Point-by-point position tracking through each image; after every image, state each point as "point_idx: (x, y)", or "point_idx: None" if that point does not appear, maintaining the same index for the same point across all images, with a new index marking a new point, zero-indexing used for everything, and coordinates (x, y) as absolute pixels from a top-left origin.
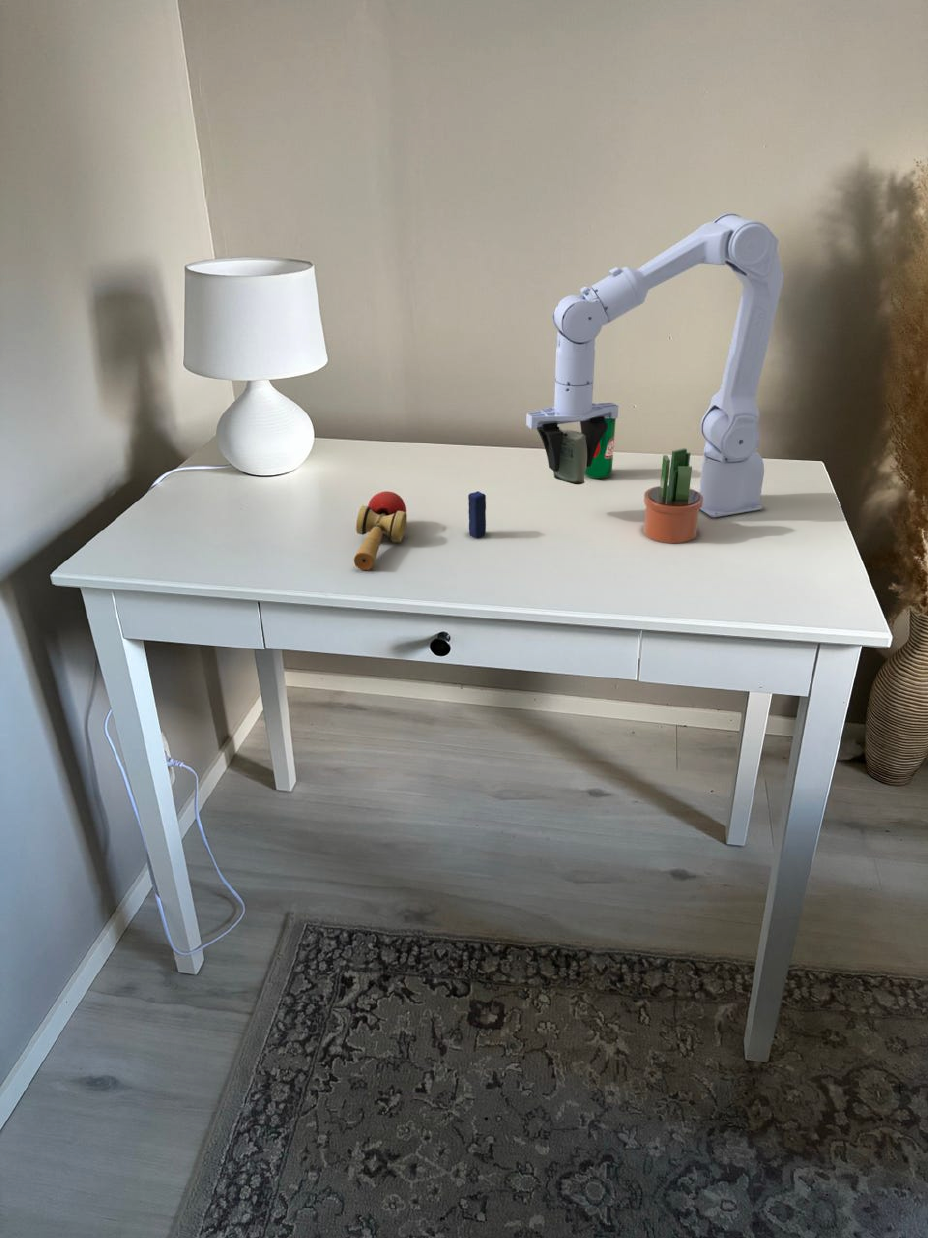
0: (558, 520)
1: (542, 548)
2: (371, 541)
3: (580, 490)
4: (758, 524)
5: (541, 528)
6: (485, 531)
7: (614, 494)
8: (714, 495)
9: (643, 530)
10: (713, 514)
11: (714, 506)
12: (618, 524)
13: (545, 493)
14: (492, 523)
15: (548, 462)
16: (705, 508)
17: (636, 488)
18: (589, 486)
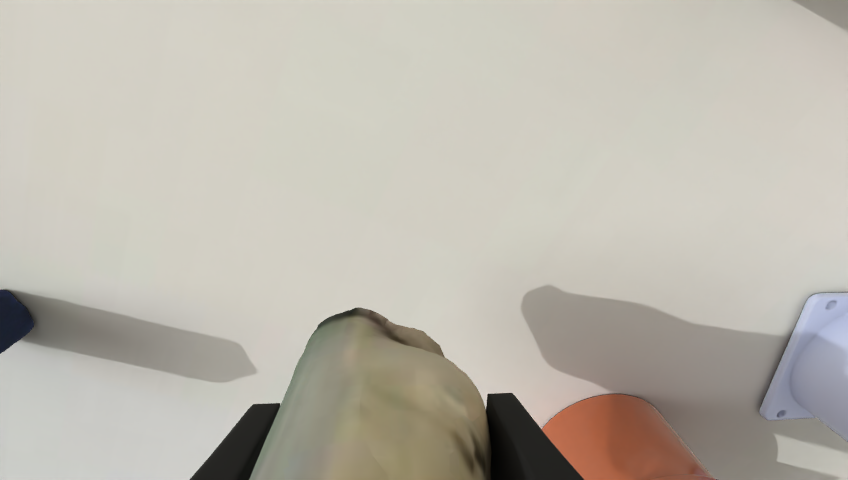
0: (342, 292)
1: (219, 442)
2: None
3: (569, 49)
4: (810, 461)
5: (260, 330)
6: (23, 335)
7: (659, 151)
8: (842, 432)
9: (544, 427)
10: (768, 417)
11: (806, 406)
12: (508, 372)
13: (406, 14)
14: (80, 238)
15: (232, 429)
16: (788, 379)
17: (772, 127)
18: (632, 19)
